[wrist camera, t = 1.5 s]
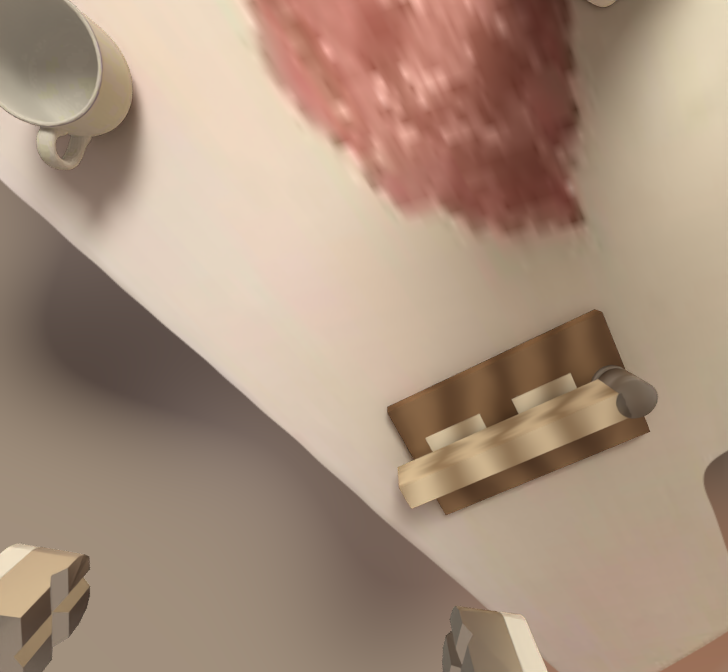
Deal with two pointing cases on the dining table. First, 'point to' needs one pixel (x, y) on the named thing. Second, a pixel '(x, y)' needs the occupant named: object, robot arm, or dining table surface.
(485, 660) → the robot arm
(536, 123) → the dining table surface
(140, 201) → the dining table surface
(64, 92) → the teacup
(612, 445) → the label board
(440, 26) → the dining table surface
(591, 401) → the swing bar
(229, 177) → the dining table surface
